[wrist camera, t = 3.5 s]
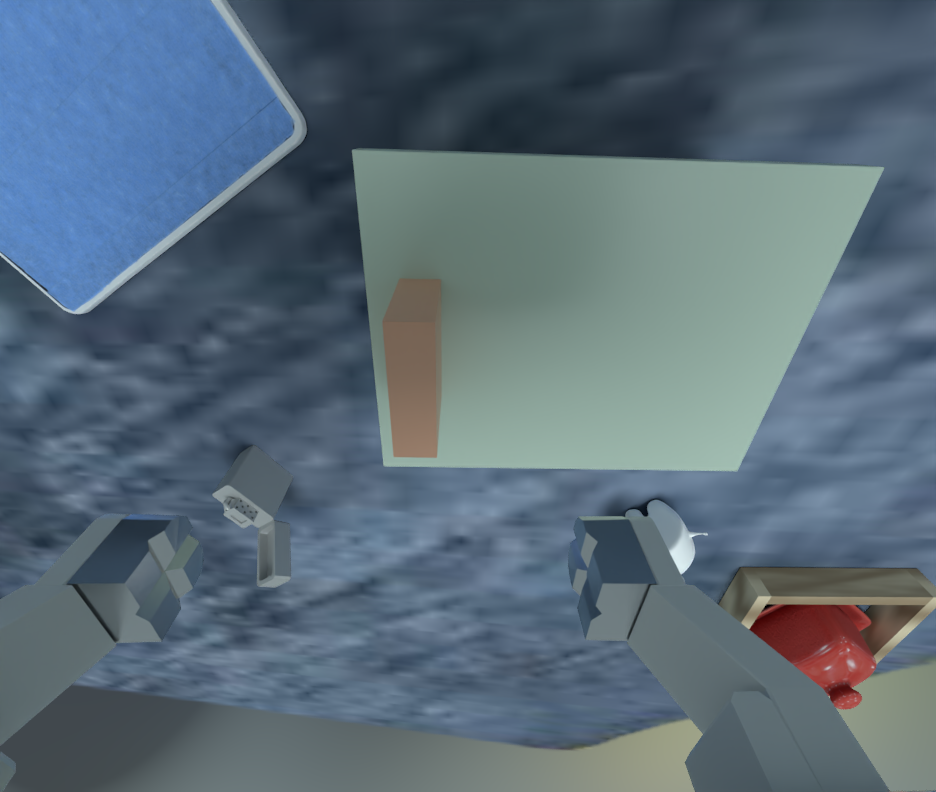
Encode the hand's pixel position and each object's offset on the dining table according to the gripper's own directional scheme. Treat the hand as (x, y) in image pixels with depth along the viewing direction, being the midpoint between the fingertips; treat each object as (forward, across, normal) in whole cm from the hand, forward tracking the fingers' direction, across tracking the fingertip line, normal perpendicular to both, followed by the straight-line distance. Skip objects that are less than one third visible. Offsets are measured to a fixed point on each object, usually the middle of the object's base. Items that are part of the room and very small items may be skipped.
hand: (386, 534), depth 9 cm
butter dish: (+20, -38, +36) cm, 56 cm away
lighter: (+20, +12, +17) cm, 29 cm away
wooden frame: (+20, -38, +37) cm, 56 cm away
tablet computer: (+20, +17, -7) cm, 28 cm away
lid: (+10, -7, 0) cm, 12 cm away
